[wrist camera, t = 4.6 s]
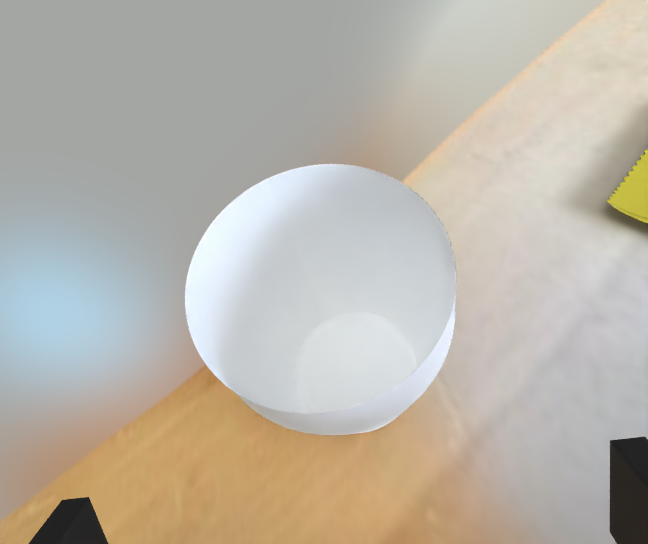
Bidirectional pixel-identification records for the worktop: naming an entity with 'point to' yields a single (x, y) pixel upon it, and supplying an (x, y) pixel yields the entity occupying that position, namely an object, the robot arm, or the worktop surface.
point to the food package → (633, 191)
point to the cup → (324, 298)
